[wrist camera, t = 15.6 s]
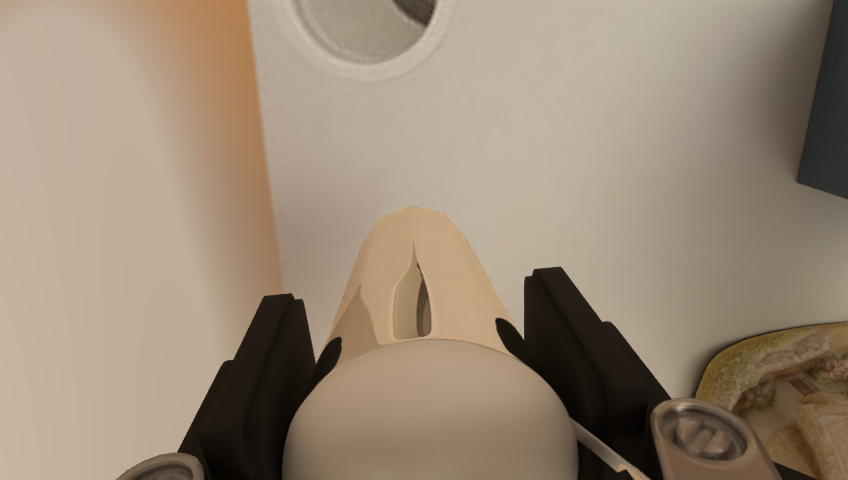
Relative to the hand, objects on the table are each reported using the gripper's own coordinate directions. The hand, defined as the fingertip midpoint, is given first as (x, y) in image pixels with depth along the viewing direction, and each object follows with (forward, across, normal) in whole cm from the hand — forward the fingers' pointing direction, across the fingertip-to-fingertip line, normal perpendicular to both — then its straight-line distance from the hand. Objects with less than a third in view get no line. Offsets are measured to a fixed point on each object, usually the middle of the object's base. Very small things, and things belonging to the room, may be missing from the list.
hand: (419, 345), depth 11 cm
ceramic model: (+15, -23, +17) cm, 32 cm away
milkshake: (+5, 0, 0) cm, 5 cm away
